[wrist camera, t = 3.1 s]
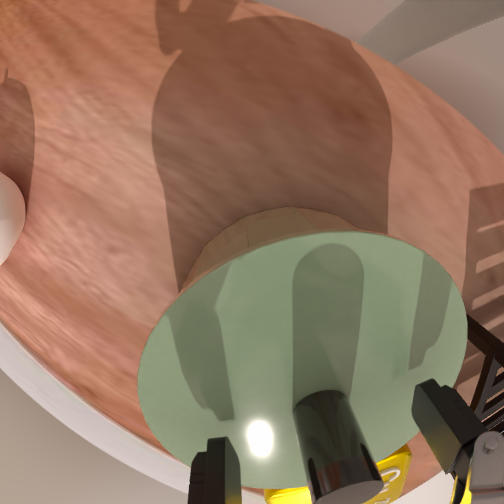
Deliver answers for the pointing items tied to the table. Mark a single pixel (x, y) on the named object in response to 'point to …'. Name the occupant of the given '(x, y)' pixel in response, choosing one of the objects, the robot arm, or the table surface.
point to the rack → (487, 378)
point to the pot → (261, 233)
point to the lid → (304, 358)
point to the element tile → (394, 475)
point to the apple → (10, 215)
